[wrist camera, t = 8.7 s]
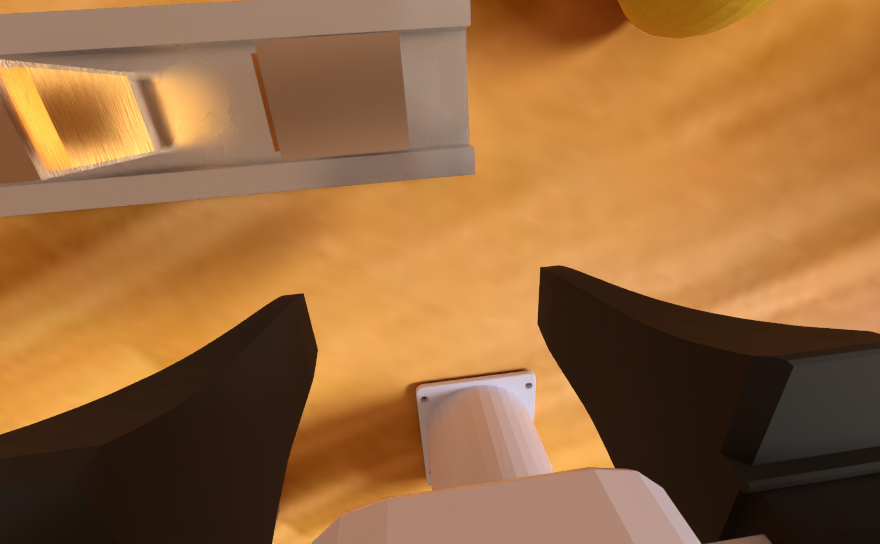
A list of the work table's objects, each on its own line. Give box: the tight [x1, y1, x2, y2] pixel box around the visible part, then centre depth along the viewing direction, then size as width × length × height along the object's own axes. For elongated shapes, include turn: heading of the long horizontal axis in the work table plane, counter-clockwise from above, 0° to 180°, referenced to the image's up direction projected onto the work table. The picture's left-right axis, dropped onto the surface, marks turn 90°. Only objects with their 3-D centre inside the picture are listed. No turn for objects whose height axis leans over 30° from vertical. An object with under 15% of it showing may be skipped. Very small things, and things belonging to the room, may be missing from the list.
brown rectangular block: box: [251, 31, 410, 160], centre depth 14 cm, size 3×4×6 cm
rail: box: [0, 0, 475, 217], centre depth 14 cm, size 7×22×7 cm, turn 94°
